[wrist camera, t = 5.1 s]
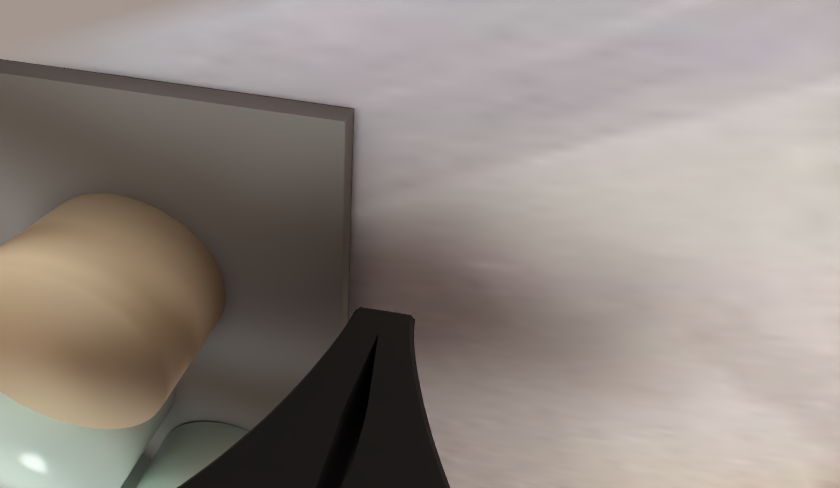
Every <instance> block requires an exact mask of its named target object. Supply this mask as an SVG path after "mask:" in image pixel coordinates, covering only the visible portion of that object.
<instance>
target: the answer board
mask: <svg viewBox="0 0 840 488" xmlns="http://www.w3.org/2000/svg"><path fill="white" fill-rule="evenodd" d="M353 124H354V109H351V108H344V107H336V106H329V105H322V104H315V103H308V102H301V101H294V100H287V99H280V98H272V97H265V96H258V95H251V94H244V93H237V92H230V91H223V90H216V89H208V88H201V87H194V86H187V85H180V84H173V83H166V82H159V81H152V80H144V79H137V78H130V77H123V76H116V75H109V74H102V73H95V72H88V71H80V70H73V69H66V68H59V67H52V66H45V65H38V64H31V63H24V62H16V61H9V60H2V59H0V246H1V245H3V244H4V243H6V242H7V241H9V240H10V239H12V238H13V237H14V236H16V235H17V234H19V233H20V232H22V231H23V230H25V229H26V228H28V227H29V226H30V225H32V224H33V223H35V222H36V221H38V220H39V219H41V218H42V217H44V216H45V215H46V214H48V213H49V212H51V211H52V210H54V209H55V208H57V207H58V206H60V205H61V204H63V203H64V202H66V201H68V200H70V199H72V198H75V197H78V196H81V195H87V194H101V193H103V194H114V195H119V196H124V197H129V198H132V199H135V200H138V201H141V202H144V203H146V204H148V205H151V206H153V207H155V208H157V209H159V210H161V211H163V212H164V213H166V214H168V215H169V216H171V217H172V218H174V219H175V220H177V221H178V222H180V223H181V224H182V225H183V226H185V227H186V228H187V229H189V230H190V231H191V232H192V233H193V234H194V235H195V236H196V237H197V238H198V239H199V240H200V241H201V242H202V244H203V245H204V246H205V247H206V248H207V250H208V251H209V252H210V254H211V255H212V257H213V258H214V260H215V262H216V264H217V266H218V267H219V269H220V272H221V275H222V277H223V281H224V285H225V293H226V300H225V307H224V310H223V313H222V315H221V317H220V319H219V321H218V322H217V324H216V325H215V327H214V328H213V330H212V331H211V333H210V334H209V336H208V337H207V339H206V340H205V342H204V343H203V345H202V346H201V348H200V350H199V351H198V353H197V354H196V356H195V357H194V359H193V360H192V362H191V363H190V365H189V366H188V368H187V369H186V371H185V372H184V374H183V375H182V377H181V378H180V380H179V381H178V383H177V384H176V386H175V387H174V389H173V390H174V402H173V406H172V407H171V409H170V411H169V412H168V414H167V416H166V417H165V419H164V420H163V422H162V423H161V425H160V427H159V428H158V430H157V431H156V433H155V434H154V436H153V438H152V439H151V441H150V442H149V444H148V445H147V447H146V448H145V450H144V452H143V453H144V454H145V455H146V456H147V457H148V458H149V459H150V460H151V461H152V459H153V457H154V456H155V454H156V452H157V450H158V449H159V447H160V445H161V444H162V442H163V440H164V438H165V437H166V436H167V434H168V433H169V432H170V431H172V430H173V429H175V428H176V427H179V426H181V425H184V424H188V423H194V422H217V423H223V424H228V425H232V426H236V427H239V428H242V429H244V430H247V431H251V430H252V429H253V428H254V427H255V426H256V425H257V424H258V423H259V422H261V421H262V420H263V419H264V418H265V417H266V416H267V415H268V414H269V413H270V412H271V411H272V410H273V409H274V408H275V407H276V406H277V405H279V404H280V403H281V402H282V401H283V400H284V399H285V398H286V397H287V395H288V394H289V393H290V392H291V391H292V390H293V389H294V388H295V387H296V386H297V385H298V384H299V383H300V381H301V380H302V379H303V378H304V377H305V376H306V375H307V374H308V373H309V372H310V371H311V369H312V368H313V367H314V366H315V365H316V363H317V362H318V361H319V360H320V359H321V357H322V356H323V355H324V354H325V353H326V351H327V350H328V349H329V348H330V346H331V345H332V344H333V342H334V341H335V340H336V339H337V337H338V336H339V335H340V333H341V332H342V330H343V329H344V328H345V326H346V325H347V323H348V295H349V261H350V227H351V193H352V158H353Z"/></svg>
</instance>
